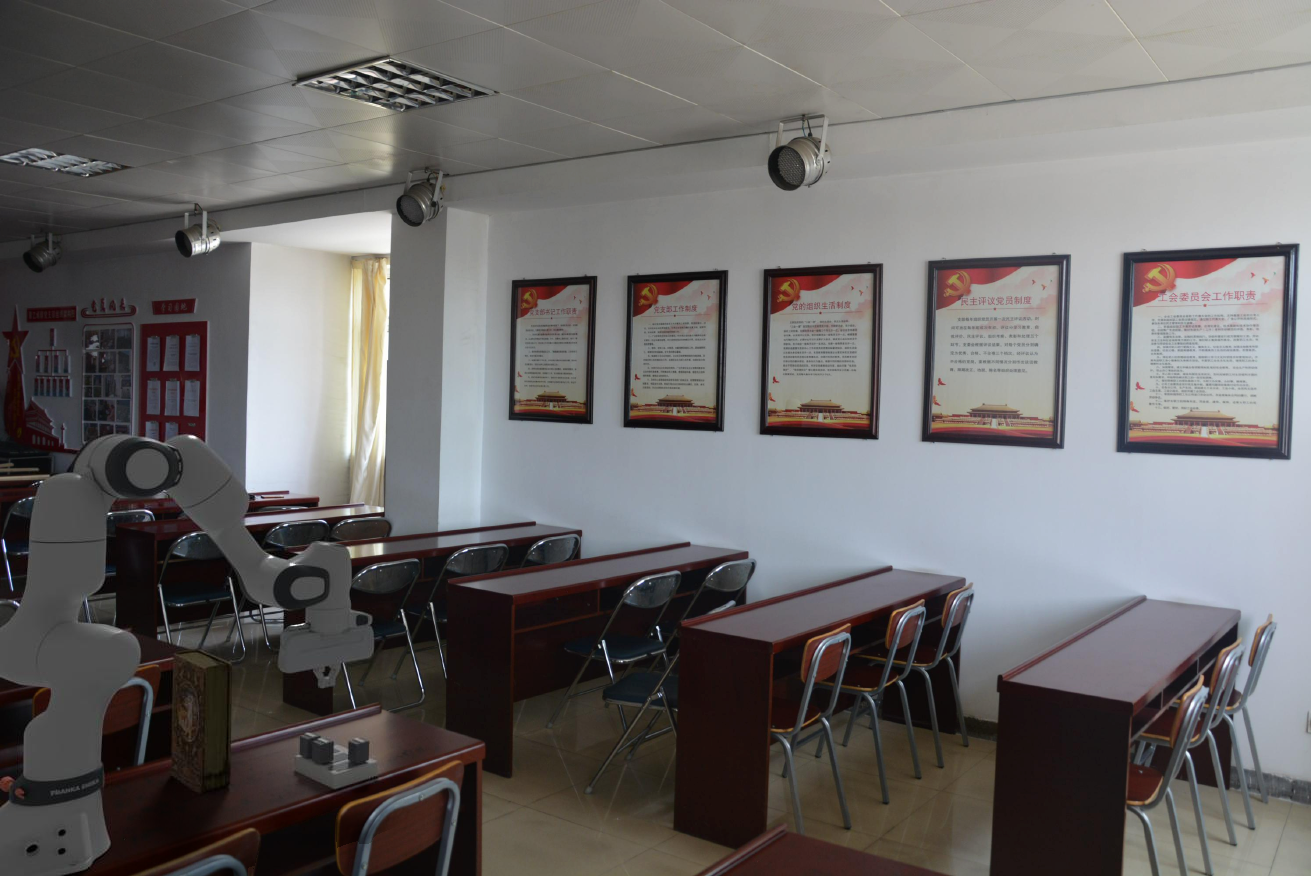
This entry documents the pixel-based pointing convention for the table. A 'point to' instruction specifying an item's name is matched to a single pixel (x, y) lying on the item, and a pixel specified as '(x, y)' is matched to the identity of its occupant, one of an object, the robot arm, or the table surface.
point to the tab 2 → (358, 750)
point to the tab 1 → (307, 744)
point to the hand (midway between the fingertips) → (326, 686)
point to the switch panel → (336, 769)
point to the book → (201, 720)
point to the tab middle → (323, 750)
